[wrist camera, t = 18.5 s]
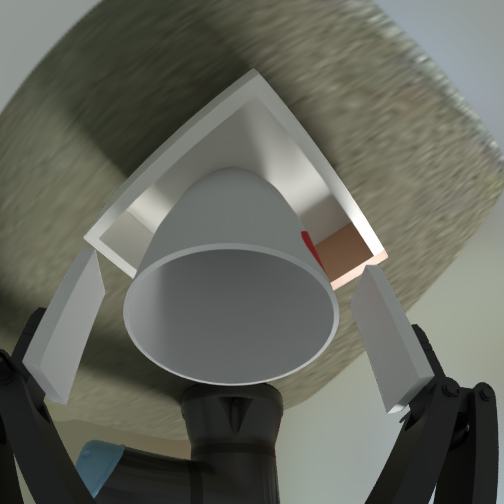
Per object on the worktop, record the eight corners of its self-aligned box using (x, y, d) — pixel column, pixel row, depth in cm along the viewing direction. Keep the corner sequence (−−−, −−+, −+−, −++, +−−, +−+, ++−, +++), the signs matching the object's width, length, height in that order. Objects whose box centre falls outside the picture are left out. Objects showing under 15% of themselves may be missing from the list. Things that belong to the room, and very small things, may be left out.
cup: (283, 260, 22) (307, 386, 14) (168, 252, 21) (139, 377, 13) (308, 151, 17) (371, 254, 9) (168, 137, 16) (106, 233, 8)
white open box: (350, 197, 23) (388, 256, 17) (229, 277, 28) (229, 347, 22) (251, 66, 17) (259, 73, 11) (122, 180, 22) (83, 237, 15)
